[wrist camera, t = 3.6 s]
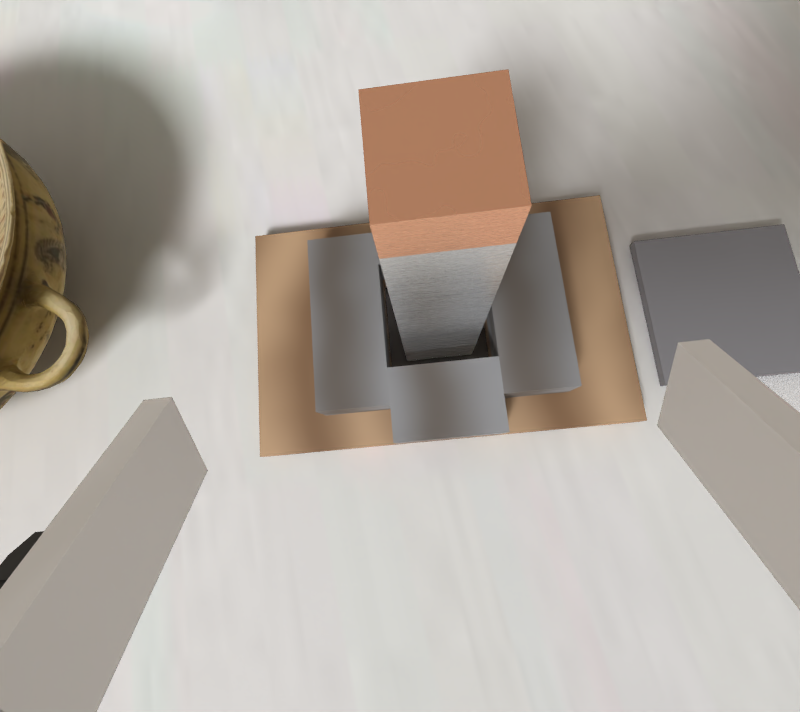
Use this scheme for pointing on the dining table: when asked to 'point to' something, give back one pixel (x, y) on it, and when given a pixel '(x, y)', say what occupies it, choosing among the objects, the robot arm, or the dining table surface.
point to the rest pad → (723, 296)
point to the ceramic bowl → (32, 282)
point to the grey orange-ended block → (443, 202)
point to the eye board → (522, 415)
